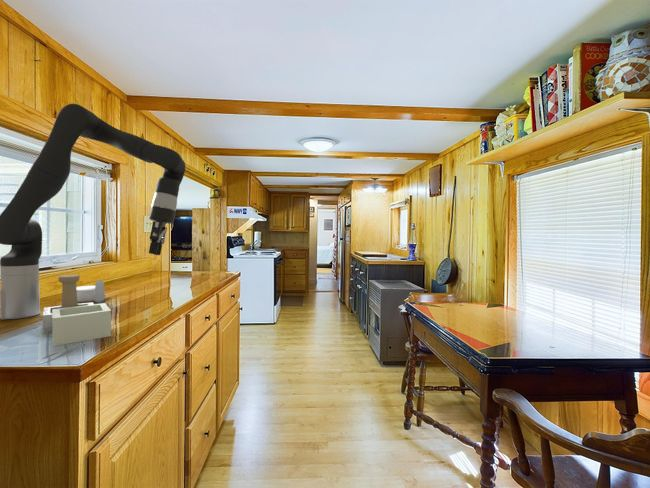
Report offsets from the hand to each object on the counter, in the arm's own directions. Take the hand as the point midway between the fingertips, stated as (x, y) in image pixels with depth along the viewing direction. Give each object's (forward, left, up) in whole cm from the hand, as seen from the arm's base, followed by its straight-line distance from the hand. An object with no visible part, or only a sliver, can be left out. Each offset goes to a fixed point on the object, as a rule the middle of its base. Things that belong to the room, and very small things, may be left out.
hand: (154, 254), depth 105 cm
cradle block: (-20, -9, -21) cm, 31 cm away
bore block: (-22, +6, -21) cm, 31 cm away
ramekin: (-15, +47, -21) cm, 54 cm away
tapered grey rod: (-13, +23, -21) cm, 34 cm away
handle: (-22, +6, -21) cm, 31 cm away
